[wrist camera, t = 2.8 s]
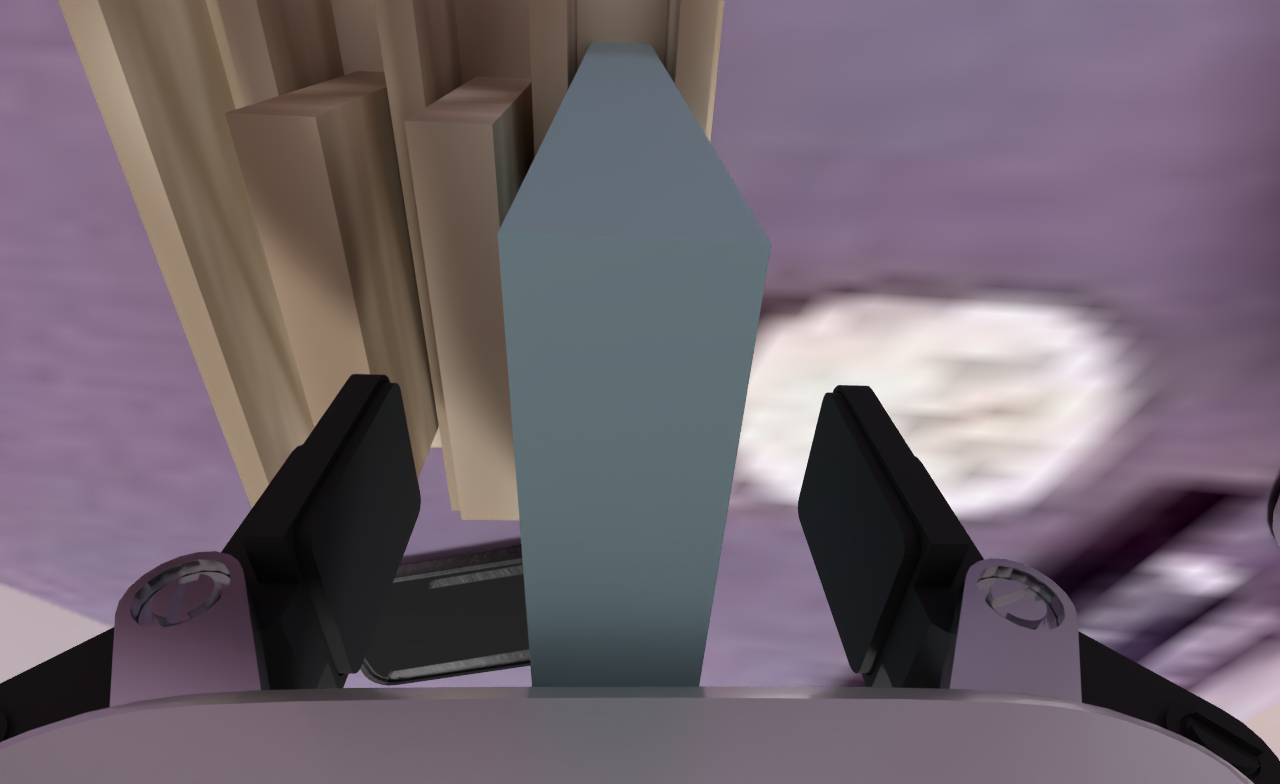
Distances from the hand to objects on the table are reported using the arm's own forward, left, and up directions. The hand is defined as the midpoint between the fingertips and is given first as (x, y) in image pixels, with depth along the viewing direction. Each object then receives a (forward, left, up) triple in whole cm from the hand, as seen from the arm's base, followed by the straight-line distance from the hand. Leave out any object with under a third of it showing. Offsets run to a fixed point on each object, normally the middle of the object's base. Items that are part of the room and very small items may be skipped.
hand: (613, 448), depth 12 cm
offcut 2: (+3, 0, -10) cm, 11 cm away
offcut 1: (+6, 0, -10) cm, 12 cm away
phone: (+6, +19, -12) cm, 23 cm away
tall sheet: (0, 0, -10) cm, 10 cm away
